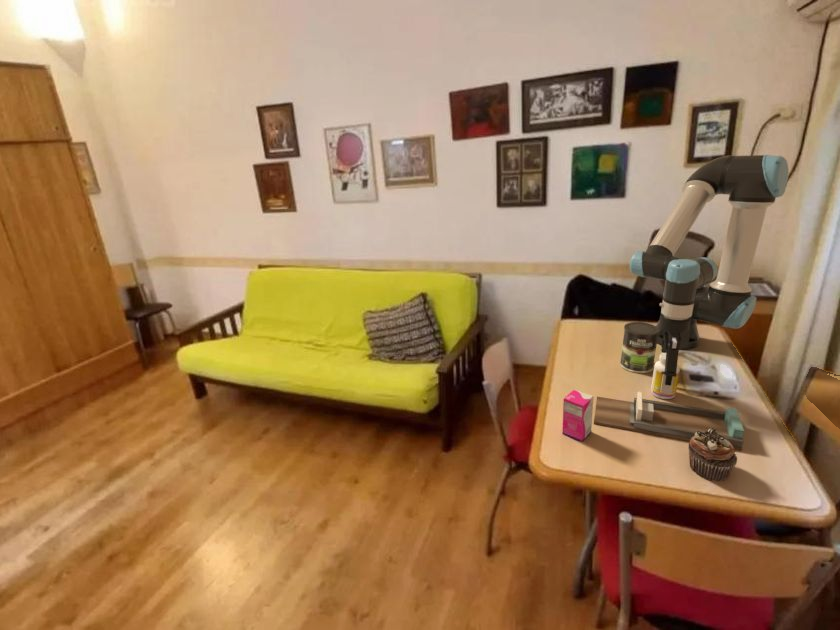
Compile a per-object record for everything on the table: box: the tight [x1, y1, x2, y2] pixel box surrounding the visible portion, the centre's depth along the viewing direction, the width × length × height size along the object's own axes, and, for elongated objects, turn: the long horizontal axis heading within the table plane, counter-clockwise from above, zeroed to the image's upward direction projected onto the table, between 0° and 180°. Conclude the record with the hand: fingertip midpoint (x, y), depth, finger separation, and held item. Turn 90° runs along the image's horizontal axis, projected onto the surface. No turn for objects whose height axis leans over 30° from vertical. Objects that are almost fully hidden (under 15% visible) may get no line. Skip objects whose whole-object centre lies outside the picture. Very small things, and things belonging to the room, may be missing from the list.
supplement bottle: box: [650, 352, 681, 400], centre depth 129 cm, size 7×7×13 cm
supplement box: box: [561, 389, 594, 443], centre depth 116 cm, size 6×6×12 cm
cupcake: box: [688, 428, 738, 482], centre depth 101 cm, size 10×10×10 cm
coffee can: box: [619, 321, 659, 374], centre depth 145 cm, size 10×10×14 cm
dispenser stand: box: [593, 396, 745, 452], centre depth 119 cm, size 13×34×5 cm, turn 66°
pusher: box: [636, 391, 654, 421], centre depth 120 cm, size 9×4×5 cm, turn 156°
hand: (664, 382), depth 130 cm, fingers open, 11 cm apart
